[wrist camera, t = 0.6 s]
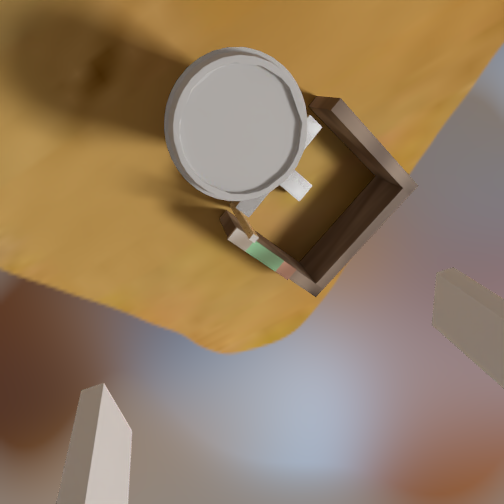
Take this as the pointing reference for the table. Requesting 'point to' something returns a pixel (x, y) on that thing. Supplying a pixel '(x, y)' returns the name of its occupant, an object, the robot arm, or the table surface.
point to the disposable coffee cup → (235, 124)
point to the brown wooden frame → (353, 218)
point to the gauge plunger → (292, 185)
